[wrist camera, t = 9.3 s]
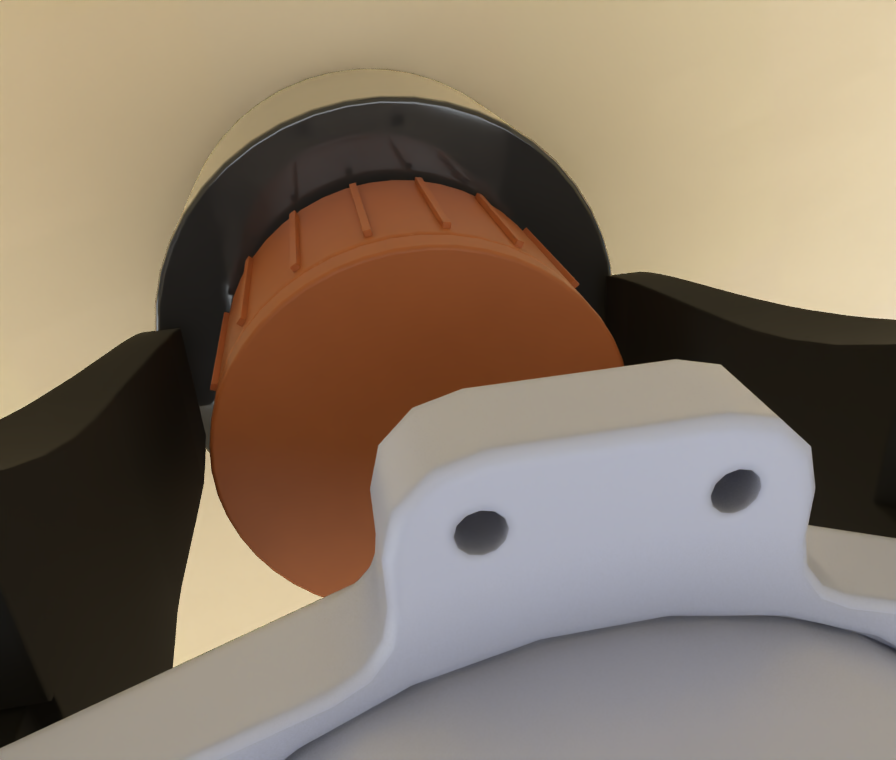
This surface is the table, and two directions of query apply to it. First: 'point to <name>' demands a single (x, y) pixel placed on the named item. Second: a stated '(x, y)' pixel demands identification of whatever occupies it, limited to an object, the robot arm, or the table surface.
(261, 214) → the grey round holder
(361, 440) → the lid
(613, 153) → the table surface
